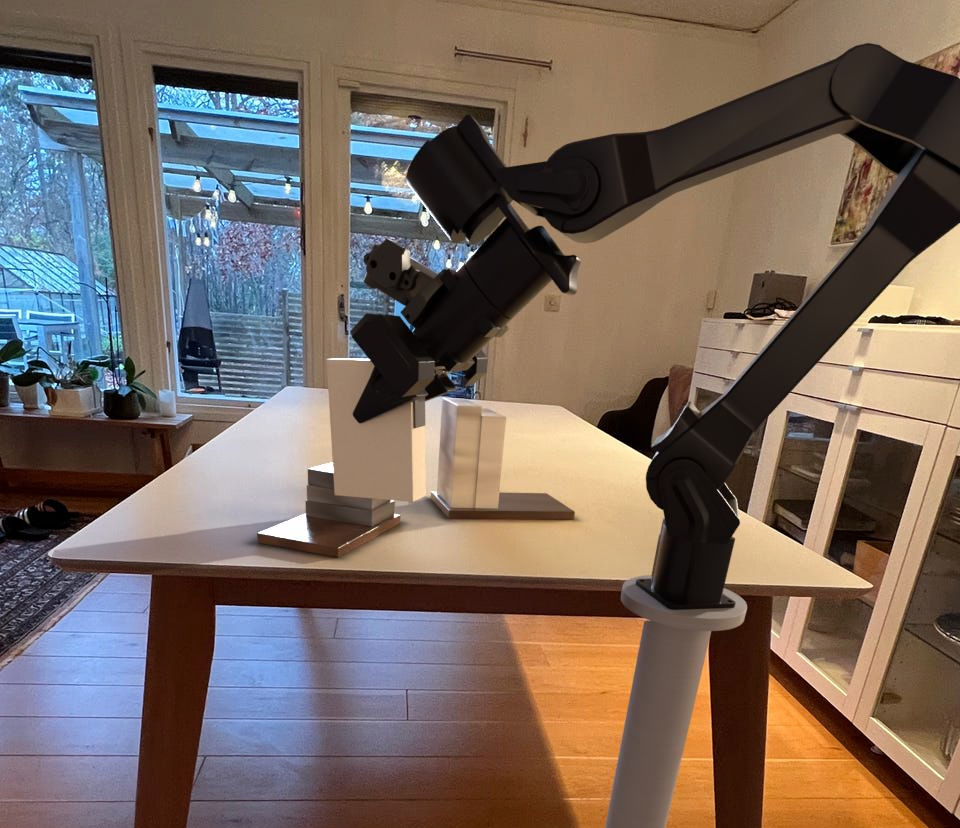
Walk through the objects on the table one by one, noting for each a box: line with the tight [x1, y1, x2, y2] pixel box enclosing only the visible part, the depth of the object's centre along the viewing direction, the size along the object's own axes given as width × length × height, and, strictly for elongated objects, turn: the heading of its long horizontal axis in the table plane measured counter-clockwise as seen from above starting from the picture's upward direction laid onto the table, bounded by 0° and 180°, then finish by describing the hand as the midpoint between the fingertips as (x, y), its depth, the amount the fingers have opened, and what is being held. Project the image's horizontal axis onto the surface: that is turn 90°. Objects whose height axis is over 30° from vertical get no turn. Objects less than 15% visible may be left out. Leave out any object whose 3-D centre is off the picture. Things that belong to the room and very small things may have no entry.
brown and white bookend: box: [430, 397, 576, 520], centre depth 91 cm, size 10×16×13 cm, turn 106°
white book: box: [326, 357, 427, 503], centre depth 66 cm, size 8×3×12 cm, turn 72°
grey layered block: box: [256, 461, 401, 558], centre depth 76 cm, size 9×15×6 cm, turn 162°
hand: (365, 417), depth 66 cm, fingers closed on white book, 3 cm apart
